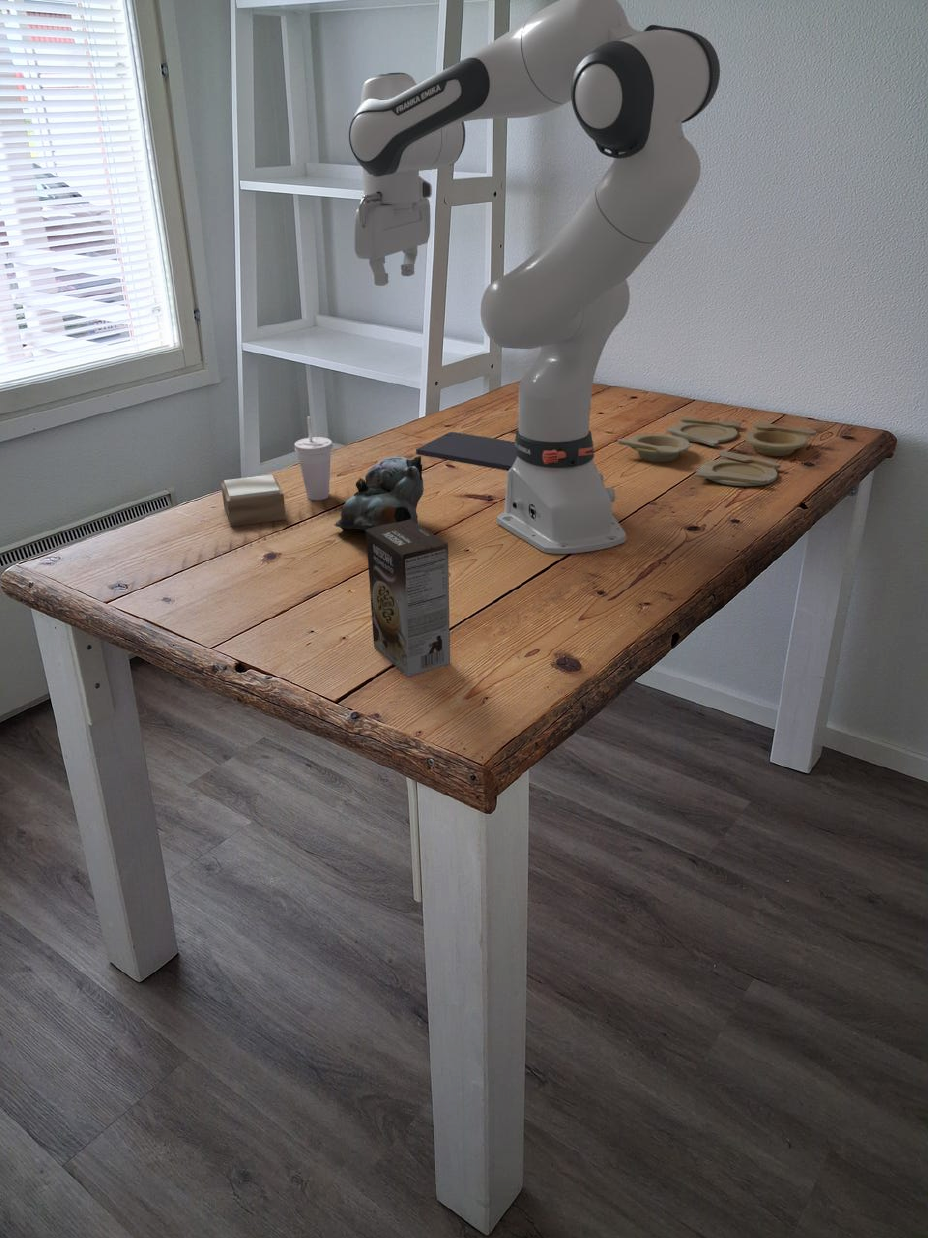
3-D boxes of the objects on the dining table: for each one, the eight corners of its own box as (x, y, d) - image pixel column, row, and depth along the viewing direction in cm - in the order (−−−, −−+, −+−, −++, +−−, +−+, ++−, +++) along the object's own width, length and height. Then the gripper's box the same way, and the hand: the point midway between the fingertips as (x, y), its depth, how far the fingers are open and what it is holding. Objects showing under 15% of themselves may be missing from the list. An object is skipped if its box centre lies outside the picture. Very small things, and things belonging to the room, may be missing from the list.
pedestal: (286, 519, 164) (283, 490, 162) (230, 526, 162) (226, 497, 159) (277, 500, 172) (274, 473, 170) (224, 507, 169) (220, 479, 167)
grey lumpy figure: (324, 525, 161) (345, 441, 161) (392, 542, 167) (412, 460, 166) (354, 530, 148) (376, 438, 147) (427, 549, 153) (448, 460, 153)
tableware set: (755, 498, 170) (758, 475, 168) (604, 466, 186) (605, 445, 184) (827, 445, 195) (830, 424, 193) (688, 421, 210) (690, 401, 208)
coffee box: (371, 647, 126) (363, 528, 118) (416, 634, 129) (410, 516, 121) (406, 679, 119) (400, 554, 111) (452, 663, 122) (449, 541, 114)
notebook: (416, 456, 193) (512, 474, 183) (415, 448, 192) (512, 466, 183) (450, 438, 203) (544, 454, 193) (450, 431, 202) (544, 446, 192)
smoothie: (319, 487, 177) (311, 409, 171) (344, 495, 174) (338, 416, 167) (291, 497, 173) (283, 418, 166) (317, 505, 169) (309, 425, 163)
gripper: (378, 196, 149) (382, 292, 156) (436, 184, 166) (438, 271, 172) (341, 195, 152) (347, 289, 158) (402, 183, 168) (405, 269, 175)
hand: (395, 280), depth 166 cm, fingers open, 8 cm apart
